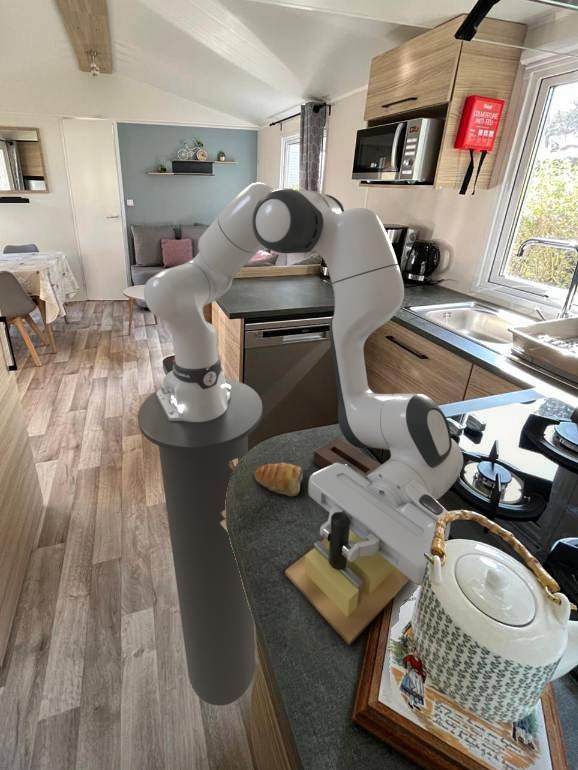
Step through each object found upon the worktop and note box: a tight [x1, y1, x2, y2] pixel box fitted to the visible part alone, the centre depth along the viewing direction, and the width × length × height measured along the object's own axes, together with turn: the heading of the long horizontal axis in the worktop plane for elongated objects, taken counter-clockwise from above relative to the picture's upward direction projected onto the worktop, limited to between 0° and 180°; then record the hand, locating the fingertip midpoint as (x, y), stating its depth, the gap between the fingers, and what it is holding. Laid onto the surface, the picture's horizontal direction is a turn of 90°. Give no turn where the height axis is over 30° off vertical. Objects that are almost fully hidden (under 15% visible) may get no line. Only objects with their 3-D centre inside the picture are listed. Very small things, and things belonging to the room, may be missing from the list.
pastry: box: [253, 461, 304, 497], centre depth 75 cm, size 9×7×4 cm
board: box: [284, 538, 411, 646], centre depth 57 cm, size 12×14×1 cm
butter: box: [326, 530, 394, 595], centre depth 58 cm, size 8×6×4 cm
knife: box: [313, 512, 363, 605], centre depth 53 cm, size 8×2×12 cm, turn 37°
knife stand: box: [313, 436, 382, 476], centre depth 77 cm, size 12×7×3 cm, turn 37°
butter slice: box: [304, 547, 359, 617], centre depth 54 cm, size 8×2×4 cm, turn 37°
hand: (334, 544), depth 52 cm, fingers closed on knife, 2 cm apart
